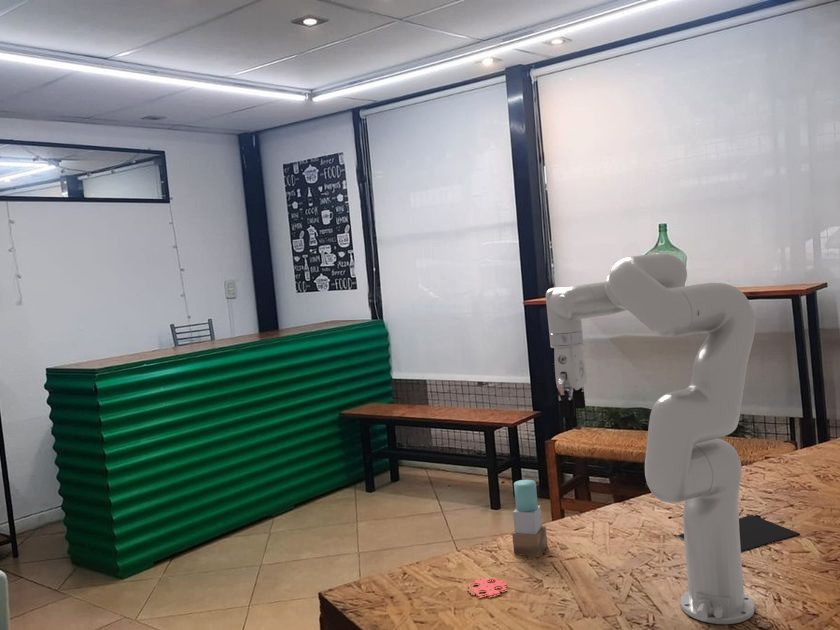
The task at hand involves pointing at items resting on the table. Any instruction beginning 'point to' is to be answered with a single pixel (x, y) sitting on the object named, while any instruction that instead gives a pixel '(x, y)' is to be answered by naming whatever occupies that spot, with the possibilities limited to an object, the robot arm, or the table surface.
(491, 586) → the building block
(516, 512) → the grey top block
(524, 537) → the walnut base block
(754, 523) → the black flat plate
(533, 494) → the teal cylinder
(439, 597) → the table surface
